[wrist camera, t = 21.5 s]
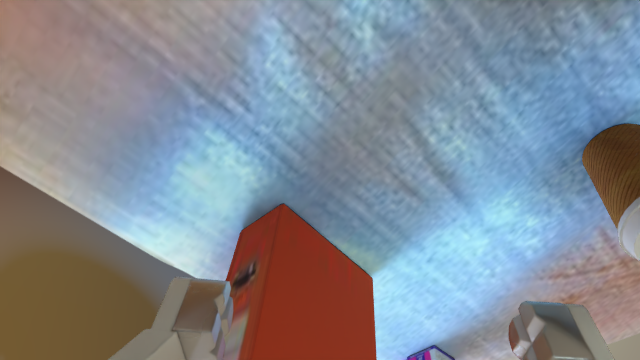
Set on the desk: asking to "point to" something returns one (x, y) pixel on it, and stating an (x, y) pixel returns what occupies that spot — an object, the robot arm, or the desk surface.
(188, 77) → the desk surface
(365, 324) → the file binder
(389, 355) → the desk surface
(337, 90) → the desk surface
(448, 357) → the supplement box
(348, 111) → the desk surface
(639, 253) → the disposable coffee cup
